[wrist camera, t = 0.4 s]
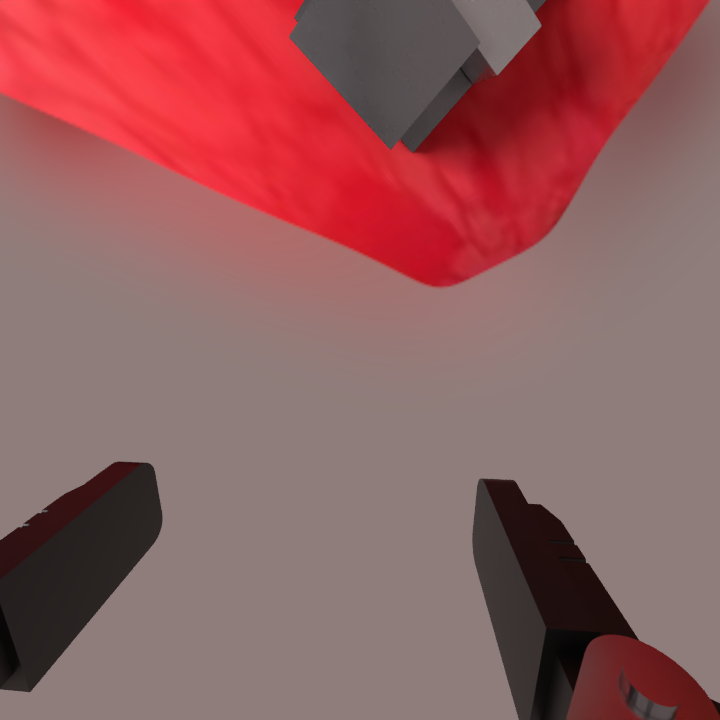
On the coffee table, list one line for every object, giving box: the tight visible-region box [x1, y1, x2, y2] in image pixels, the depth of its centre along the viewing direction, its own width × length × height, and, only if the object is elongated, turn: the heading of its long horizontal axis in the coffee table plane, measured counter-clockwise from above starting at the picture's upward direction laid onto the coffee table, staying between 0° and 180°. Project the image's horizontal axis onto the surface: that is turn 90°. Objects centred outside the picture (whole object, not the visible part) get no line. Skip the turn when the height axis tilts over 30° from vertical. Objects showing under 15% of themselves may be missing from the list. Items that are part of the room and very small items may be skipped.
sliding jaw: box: [289, 0, 542, 150], centre depth 22 cm, size 12×10×7 cm
